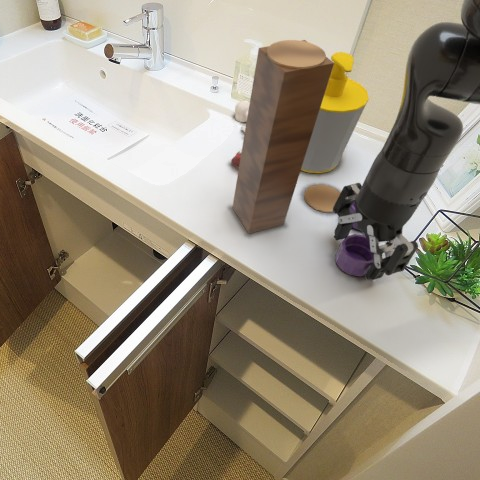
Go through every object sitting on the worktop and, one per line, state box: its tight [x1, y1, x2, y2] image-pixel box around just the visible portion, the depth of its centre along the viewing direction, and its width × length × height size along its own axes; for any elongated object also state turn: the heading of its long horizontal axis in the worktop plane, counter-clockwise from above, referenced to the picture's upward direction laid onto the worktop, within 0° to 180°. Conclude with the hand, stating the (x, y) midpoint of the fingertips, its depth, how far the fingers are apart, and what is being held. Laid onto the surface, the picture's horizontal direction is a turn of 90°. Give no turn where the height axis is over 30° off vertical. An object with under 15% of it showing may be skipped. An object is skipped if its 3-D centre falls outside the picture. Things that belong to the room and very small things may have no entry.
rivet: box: [239, 124, 246, 133], centre depth 90 cm, size 10×2×2 cm, turn 24°
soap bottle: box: [301, 51, 370, 174], centre depth 79 cm, size 13×13×21 cm
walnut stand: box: [232, 39, 334, 235], centre depth 65 cm, size 7×7×30 cm
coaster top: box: [267, 39, 327, 69], centre depth 53 cm, size 7×7×1 cm
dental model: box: [230, 150, 242, 168], centre depth 84 cm, size 6×4×8 cm
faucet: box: [234, 99, 250, 123], centre depth 91 cm, size 4×18×10 cm, turn 24°
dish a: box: [334, 233, 374, 277], centre depth 67 cm, size 6×6×4 cm
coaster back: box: [303, 184, 341, 214], centre depth 79 cm, size 7×7×1 cm
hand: (354, 256), depth 68 cm, fingers open, 8 cm apart
